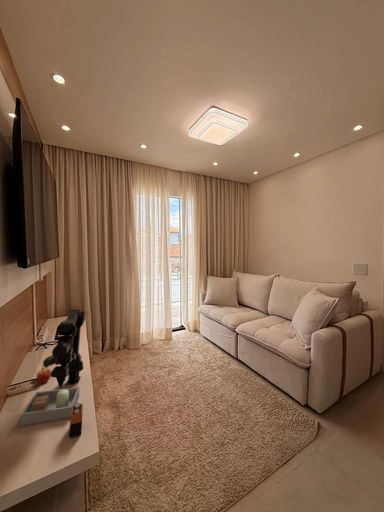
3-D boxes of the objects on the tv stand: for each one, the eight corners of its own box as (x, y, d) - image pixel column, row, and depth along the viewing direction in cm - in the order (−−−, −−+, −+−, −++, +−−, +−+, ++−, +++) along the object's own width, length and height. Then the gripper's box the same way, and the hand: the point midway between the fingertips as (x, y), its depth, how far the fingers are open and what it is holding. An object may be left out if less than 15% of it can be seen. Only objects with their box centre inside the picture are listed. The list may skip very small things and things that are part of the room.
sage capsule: (69, 403, 104) (70, 388, 104) (66, 410, 99) (67, 395, 99) (57, 404, 102) (58, 390, 102) (54, 411, 97) (55, 396, 98)
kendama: (35, 374, 131) (33, 385, 116) (38, 363, 132) (37, 372, 117) (49, 373, 135) (50, 383, 120) (52, 363, 136) (53, 371, 122)
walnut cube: (36, 407, 100) (36, 397, 100) (48, 405, 101) (48, 395, 101) (31, 415, 95) (32, 404, 95) (44, 413, 96) (44, 402, 96)
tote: (35, 402, 104) (36, 392, 104) (79, 396, 110) (79, 386, 110) (19, 426, 89) (20, 414, 89) (71, 418, 95) (71, 407, 95)
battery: (82, 423, 92) (83, 400, 92) (81, 435, 86) (82, 410, 86) (70, 426, 90) (71, 403, 90) (69, 439, 84) (70, 413, 84)
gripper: (53, 342, 108) (51, 373, 107) (38, 359, 90) (35, 395, 89) (77, 341, 111) (75, 370, 111) (67, 356, 93) (65, 392, 93)
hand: (63, 381), depth 101 cm, fingers open, 9 cm apart
